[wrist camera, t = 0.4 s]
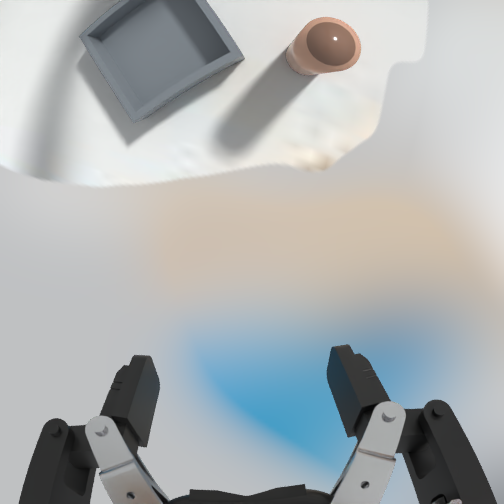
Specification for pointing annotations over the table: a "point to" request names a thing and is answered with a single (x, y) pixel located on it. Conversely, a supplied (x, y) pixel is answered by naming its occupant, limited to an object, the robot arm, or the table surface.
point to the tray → (158, 50)
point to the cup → (324, 47)
